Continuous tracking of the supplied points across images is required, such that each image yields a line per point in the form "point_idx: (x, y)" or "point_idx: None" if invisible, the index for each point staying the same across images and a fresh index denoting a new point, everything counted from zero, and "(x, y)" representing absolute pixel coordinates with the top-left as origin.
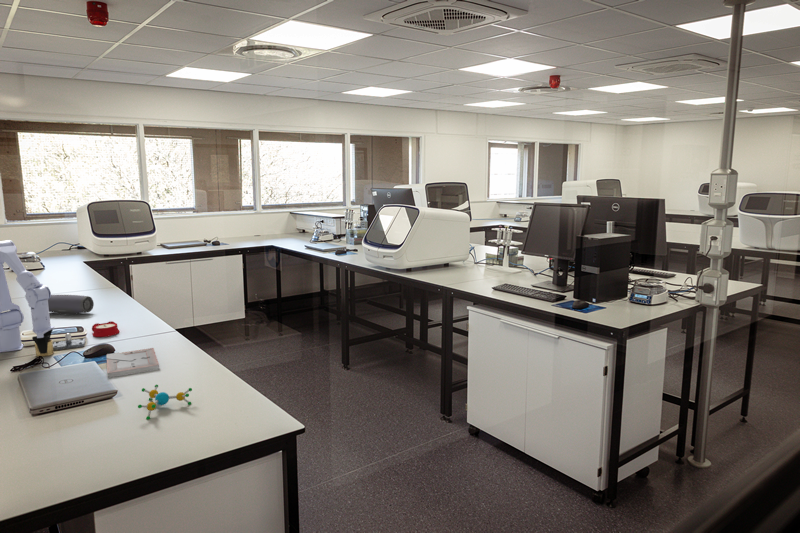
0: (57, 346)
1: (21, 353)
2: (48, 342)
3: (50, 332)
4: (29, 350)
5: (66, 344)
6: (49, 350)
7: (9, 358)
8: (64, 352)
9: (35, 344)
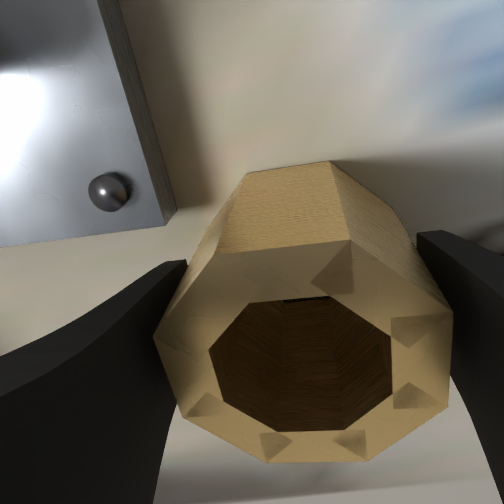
0: (115, 166)
1: (201, 437)
2: (389, 291)
3: (27, 412)
4: None
5: (19, 51)
6: (380, 214)
7: (320, 481)
8: (315, 4)
9: (377, 443)
